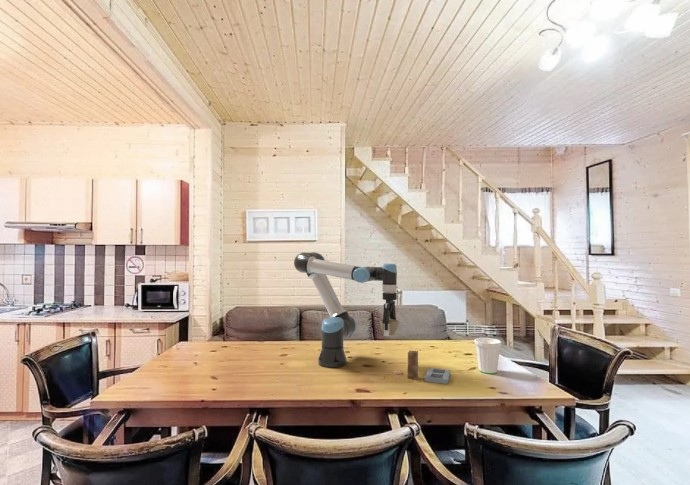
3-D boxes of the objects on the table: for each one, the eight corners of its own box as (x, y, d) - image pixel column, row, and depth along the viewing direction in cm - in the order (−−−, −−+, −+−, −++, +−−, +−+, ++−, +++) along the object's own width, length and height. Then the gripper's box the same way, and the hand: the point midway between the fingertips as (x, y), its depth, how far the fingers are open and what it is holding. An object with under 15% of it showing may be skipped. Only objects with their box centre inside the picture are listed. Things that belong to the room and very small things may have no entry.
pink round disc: (392, 373, 175) (392, 373, 175) (394, 370, 180) (394, 369, 180) (402, 374, 173) (402, 374, 173) (404, 371, 178) (404, 371, 178)
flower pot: (398, 336, 185) (398, 322, 186) (378, 335, 188) (379, 322, 188) (399, 332, 195) (399, 319, 195) (381, 331, 197) (381, 318, 197)
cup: (481, 365, 187) (481, 336, 188) (505, 371, 178) (505, 340, 179) (470, 371, 179) (470, 340, 179) (495, 377, 170) (494, 345, 170)
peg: (407, 378, 168) (407, 352, 169) (409, 375, 172) (409, 350, 173) (416, 379, 167) (416, 353, 167) (417, 376, 171) (417, 351, 171)
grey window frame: (424, 381, 165) (424, 376, 165) (429, 371, 178) (429, 367, 178) (447, 384, 161) (447, 379, 161) (450, 374, 174) (450, 370, 174)
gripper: (390, 294, 180) (390, 339, 180) (401, 290, 201) (401, 330, 200) (376, 294, 183) (376, 337, 182) (388, 289, 204) (388, 329, 203)
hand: (389, 334), depth 191 cm, fingers closed on flower pot, 10 cm apart
